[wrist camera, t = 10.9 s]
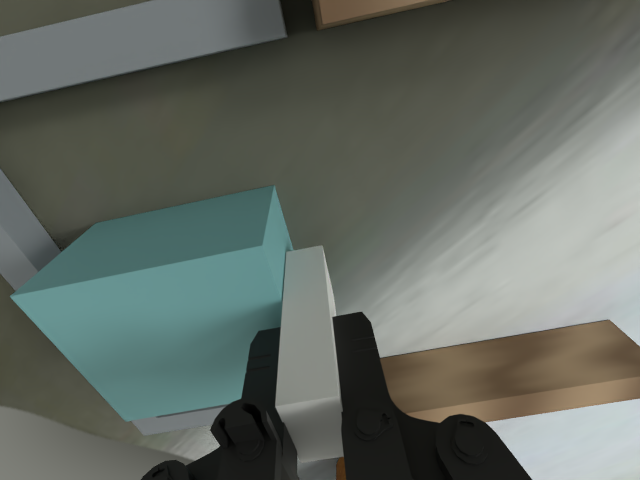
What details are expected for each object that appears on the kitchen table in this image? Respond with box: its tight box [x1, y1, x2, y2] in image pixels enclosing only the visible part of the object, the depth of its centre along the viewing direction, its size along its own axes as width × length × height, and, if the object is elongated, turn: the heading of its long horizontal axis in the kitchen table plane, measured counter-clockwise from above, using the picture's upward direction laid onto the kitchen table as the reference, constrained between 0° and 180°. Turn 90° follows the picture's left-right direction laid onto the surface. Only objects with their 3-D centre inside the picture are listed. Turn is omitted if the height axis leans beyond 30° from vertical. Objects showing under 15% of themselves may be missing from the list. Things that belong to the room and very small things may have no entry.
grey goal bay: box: [0, 0, 287, 436], centre depth 15 cm, size 14×20×2 cm
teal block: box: [10, 185, 293, 421], centre depth 14 cm, size 8×7×5 cm
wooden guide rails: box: [312, 0, 640, 423], centre depth 13 cm, size 14×21×4 cm, turn 11°
